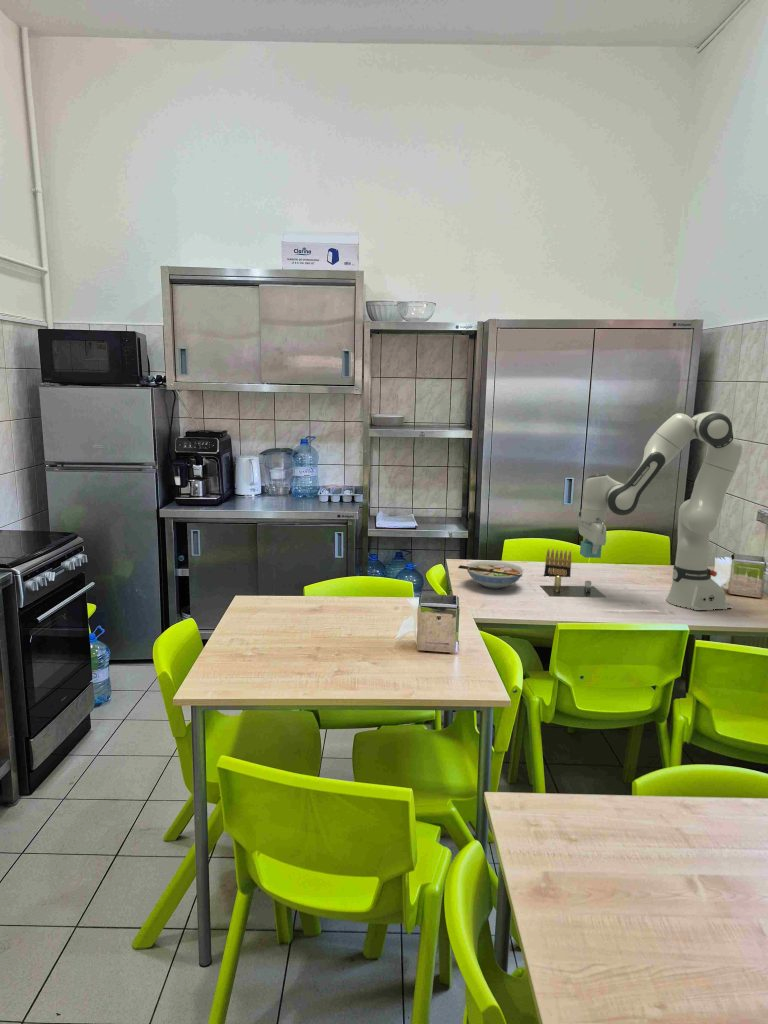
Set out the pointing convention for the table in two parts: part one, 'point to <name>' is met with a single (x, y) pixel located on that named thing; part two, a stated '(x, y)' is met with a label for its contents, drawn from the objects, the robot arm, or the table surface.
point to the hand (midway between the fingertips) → (590, 551)
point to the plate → (571, 590)
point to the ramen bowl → (494, 573)
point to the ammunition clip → (558, 564)
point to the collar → (589, 550)
